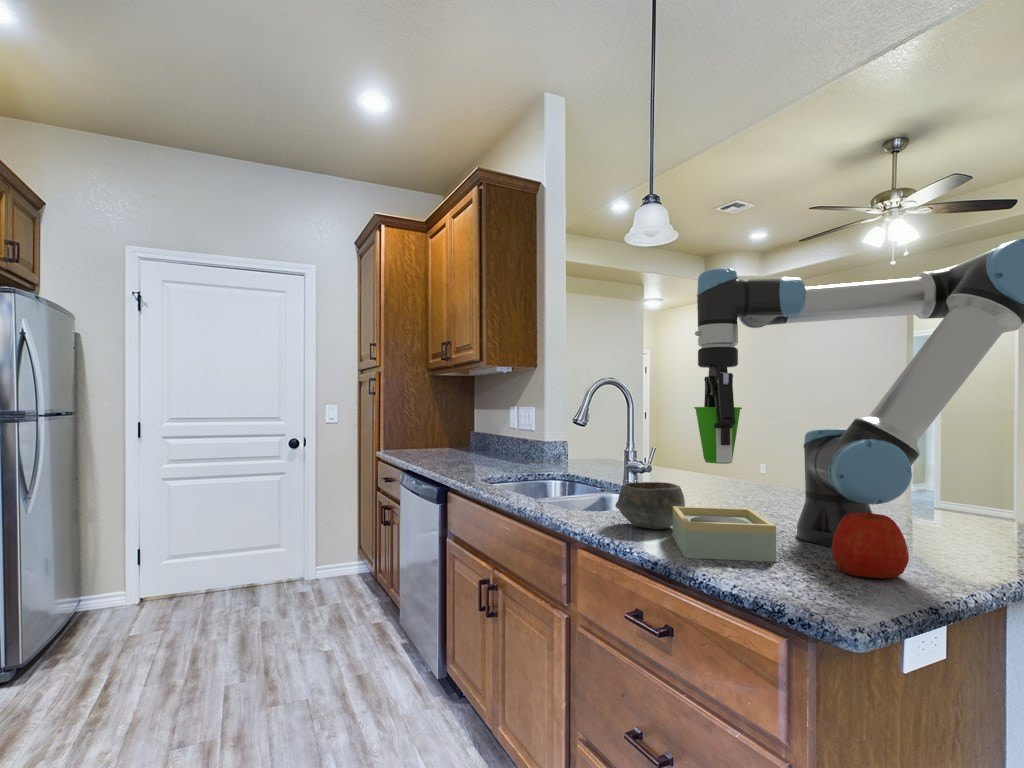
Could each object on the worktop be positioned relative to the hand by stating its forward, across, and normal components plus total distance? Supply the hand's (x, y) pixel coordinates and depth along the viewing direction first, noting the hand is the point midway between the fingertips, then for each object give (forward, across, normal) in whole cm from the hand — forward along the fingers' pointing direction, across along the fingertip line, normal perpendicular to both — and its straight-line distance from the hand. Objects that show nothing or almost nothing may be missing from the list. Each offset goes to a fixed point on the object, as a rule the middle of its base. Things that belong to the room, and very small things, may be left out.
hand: (718, 459), depth 107 cm
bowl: (+18, -16, -12) cm, 27 cm away
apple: (+18, +13, +21) cm, 30 cm away
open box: (+17, 0, 0) cm, 17 cm away
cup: (+1, 0, 0) cm, 1 cm away
